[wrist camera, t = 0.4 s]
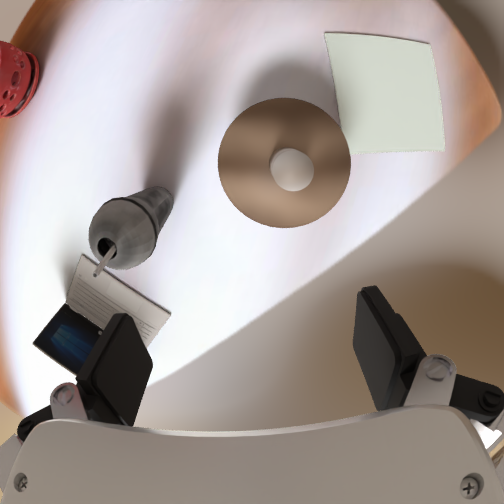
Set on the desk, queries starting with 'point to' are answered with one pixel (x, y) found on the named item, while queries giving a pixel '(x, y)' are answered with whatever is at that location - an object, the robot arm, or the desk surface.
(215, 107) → the desk surface
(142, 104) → the desk surface
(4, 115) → the plant pot
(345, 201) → the desk surface
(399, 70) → the mat
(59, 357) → the laptop
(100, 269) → the beverage cup
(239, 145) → the lid
